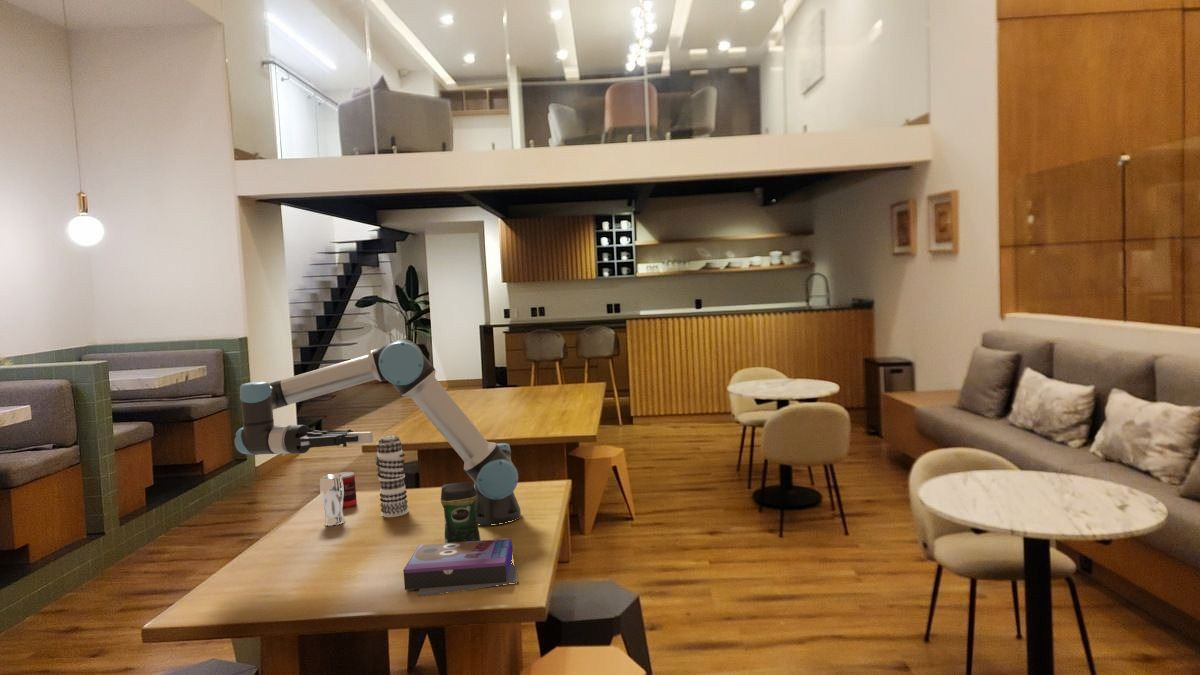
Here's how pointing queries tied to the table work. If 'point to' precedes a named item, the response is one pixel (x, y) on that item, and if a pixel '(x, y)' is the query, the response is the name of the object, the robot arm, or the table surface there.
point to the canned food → (349, 489)
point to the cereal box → (459, 564)
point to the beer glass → (332, 498)
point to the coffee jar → (460, 512)
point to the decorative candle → (391, 477)
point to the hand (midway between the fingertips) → (371, 437)
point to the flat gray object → (437, 590)
